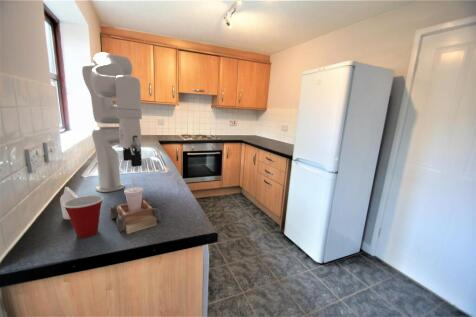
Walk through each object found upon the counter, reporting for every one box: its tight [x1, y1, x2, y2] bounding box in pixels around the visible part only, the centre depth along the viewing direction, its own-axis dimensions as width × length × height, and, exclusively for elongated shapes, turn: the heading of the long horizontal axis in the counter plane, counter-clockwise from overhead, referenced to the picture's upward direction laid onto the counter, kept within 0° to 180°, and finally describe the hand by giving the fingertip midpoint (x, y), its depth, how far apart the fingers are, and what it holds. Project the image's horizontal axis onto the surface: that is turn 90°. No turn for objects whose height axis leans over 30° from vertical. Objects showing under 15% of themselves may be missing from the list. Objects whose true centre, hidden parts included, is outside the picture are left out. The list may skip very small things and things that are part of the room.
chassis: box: [109, 198, 161, 235], centre depth 82 cm, size 18×14×5 cm
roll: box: [59, 186, 79, 220], centre depth 82 cm, size 6×12×6 cm
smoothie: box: [124, 178, 144, 213], centre depth 81 cm, size 6×6×14 cm
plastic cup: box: [63, 194, 104, 239], centre depth 71 cm, size 11×11×12 cm
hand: (132, 163), depth 78 cm, fingers open, 9 cm apart
